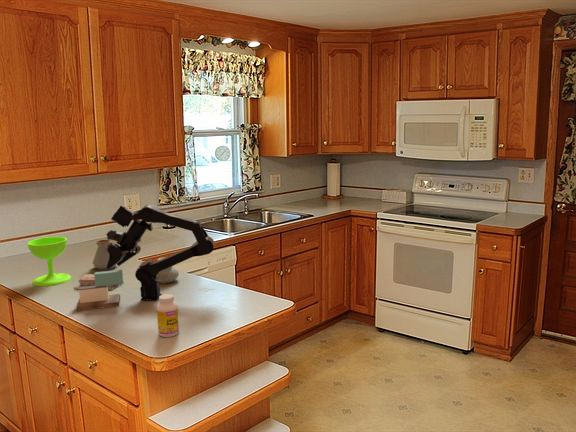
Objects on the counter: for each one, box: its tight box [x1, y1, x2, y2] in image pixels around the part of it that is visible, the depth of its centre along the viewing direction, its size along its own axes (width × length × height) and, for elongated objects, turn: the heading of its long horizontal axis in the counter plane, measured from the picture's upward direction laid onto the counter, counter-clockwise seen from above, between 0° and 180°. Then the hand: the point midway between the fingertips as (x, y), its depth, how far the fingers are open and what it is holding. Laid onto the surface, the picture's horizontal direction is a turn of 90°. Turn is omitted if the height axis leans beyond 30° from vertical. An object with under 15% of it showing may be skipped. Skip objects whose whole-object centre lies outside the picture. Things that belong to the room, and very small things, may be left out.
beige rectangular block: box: [78, 286, 109, 303], centre depth 209 cm, size 10×3×6 cm, turn 104°
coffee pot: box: [92, 239, 117, 271], centre depth 254 cm, size 21×12×15 cm, turn 32°
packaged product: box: [73, 273, 125, 291], centre depth 232 cm, size 18×5×10 cm
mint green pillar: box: [93, 269, 124, 287], centre depth 209 cm, size 10×2×5 cm, turn 104°
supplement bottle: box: [156, 293, 180, 338], centre depth 178 cm, size 7×7×13 cm
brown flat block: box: [76, 293, 121, 311], centre depth 210 cm, size 15×10×2 cm, turn 104°
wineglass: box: [26, 236, 72, 287], centre depth 240 cm, size 16×16×18 cm
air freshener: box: [156, 257, 179, 284], centre depth 234 cm, size 11×8×10 cm
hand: (112, 266), depth 211 cm, fingers open, 9 cm apart
